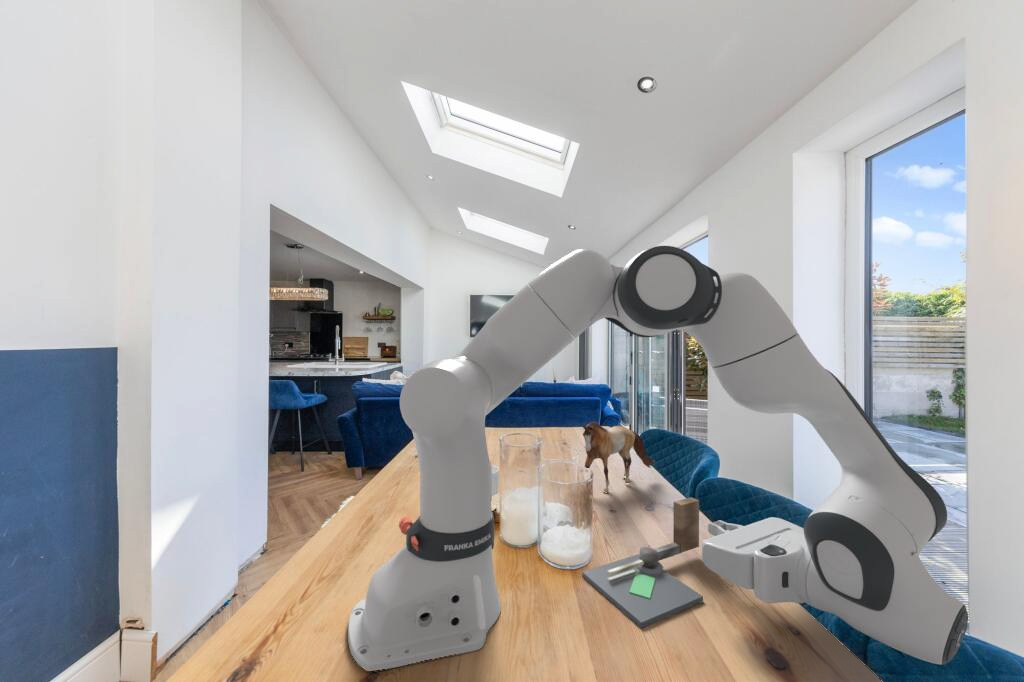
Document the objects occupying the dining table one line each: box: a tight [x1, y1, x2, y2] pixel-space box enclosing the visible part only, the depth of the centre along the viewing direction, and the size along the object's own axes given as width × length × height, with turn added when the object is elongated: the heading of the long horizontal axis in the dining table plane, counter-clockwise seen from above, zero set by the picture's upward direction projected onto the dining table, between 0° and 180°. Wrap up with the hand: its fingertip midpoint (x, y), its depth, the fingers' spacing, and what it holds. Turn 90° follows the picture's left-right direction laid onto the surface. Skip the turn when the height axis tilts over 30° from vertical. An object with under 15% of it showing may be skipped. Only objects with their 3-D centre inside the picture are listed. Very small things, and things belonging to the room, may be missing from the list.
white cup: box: [491, 464, 500, 501], centre depth 97 cm, size 8×8×10 cm
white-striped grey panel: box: [581, 553, 704, 629], centre depth 66 cm, size 14×14×1 cm
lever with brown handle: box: [607, 496, 700, 576], centre depth 71 cm, size 22×3×10 cm, turn 117°
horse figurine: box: [582, 421, 656, 493], centre depth 113 cm, size 31×8×21 cm, turn 127°
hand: (713, 525), depth 69 cm, fingers closed
